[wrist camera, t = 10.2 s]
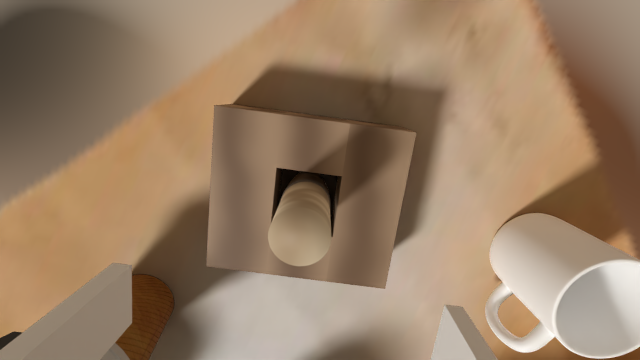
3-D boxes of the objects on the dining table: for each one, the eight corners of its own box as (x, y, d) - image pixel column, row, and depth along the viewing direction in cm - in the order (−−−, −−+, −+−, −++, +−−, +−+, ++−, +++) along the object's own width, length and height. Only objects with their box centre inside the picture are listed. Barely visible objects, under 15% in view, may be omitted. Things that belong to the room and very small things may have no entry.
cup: (586, 246, 34) (694, 308, 24) (494, 321, 36) (559, 406, 26) (534, 193, 32) (625, 236, 22) (442, 274, 35) (489, 345, 25)
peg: (332, 169, 32) (336, 211, 20) (326, 209, 33) (327, 270, 21) (290, 163, 32) (270, 202, 20) (285, 203, 33) (264, 262, 21)
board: (402, 126, 31) (416, 132, 26) (376, 261, 34) (384, 288, 29) (231, 104, 31) (214, 105, 26) (223, 242, 34) (206, 266, 29)
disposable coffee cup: (91, 317, 36) (-18, 421, 25) (115, 246, 34) (8, 322, 23) (172, 349, 37) (104, 463, 26) (201, 281, 35) (140, 372, 24)
